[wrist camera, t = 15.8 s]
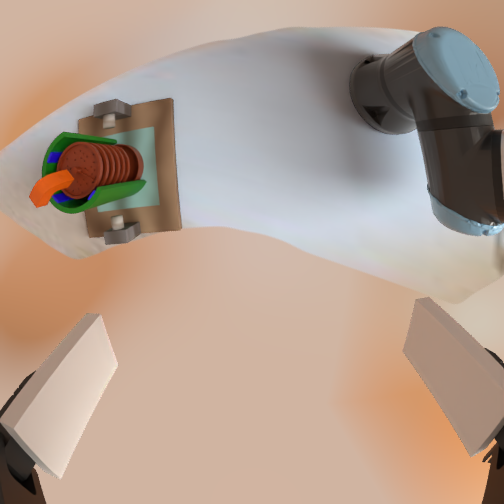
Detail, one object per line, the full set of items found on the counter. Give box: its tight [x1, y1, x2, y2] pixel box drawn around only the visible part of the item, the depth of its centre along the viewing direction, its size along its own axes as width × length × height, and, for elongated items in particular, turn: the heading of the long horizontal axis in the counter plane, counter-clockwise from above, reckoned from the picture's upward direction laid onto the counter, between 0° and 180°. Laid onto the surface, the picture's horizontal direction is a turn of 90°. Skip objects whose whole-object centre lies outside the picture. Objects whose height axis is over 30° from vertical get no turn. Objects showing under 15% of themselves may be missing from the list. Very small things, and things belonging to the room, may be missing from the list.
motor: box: [29, 132, 147, 214], centre depth 32 cm, size 10×9×20 cm
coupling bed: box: [79, 98, 182, 245], centre depth 39 cm, size 18×22×8 cm
